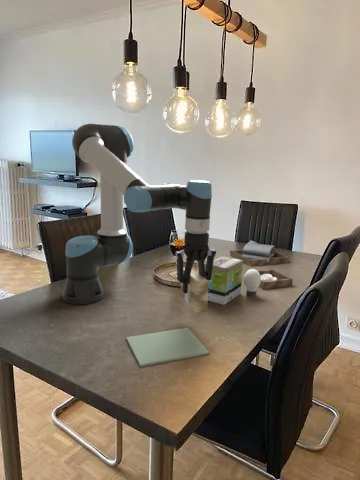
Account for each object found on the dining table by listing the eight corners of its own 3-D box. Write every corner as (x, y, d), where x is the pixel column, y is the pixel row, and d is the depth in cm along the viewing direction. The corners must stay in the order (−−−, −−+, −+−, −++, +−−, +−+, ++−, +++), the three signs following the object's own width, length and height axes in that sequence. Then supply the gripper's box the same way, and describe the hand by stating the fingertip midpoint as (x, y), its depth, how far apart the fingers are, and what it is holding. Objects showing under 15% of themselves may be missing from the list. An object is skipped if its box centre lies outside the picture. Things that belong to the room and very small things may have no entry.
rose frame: (262, 289, 158) (263, 282, 157) (244, 278, 172) (244, 272, 171) (292, 285, 164) (292, 279, 163) (272, 275, 177) (272, 269, 176)
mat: (140, 366, 98) (140, 364, 98) (126, 338, 113) (126, 337, 113) (209, 353, 106) (209, 352, 105) (187, 329, 120) (187, 327, 120)
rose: (283, 275, 164) (269, 279, 158) (282, 285, 165) (268, 289, 159) (265, 269, 171) (251, 273, 166) (264, 278, 172) (250, 282, 167)
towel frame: (249, 266, 191) (250, 260, 190) (229, 255, 210) (230, 250, 209) (288, 262, 199) (289, 257, 199) (266, 252, 218) (266, 247, 218)
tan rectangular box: (196, 312, 115) (198, 282, 112) (180, 295, 127) (181, 267, 125) (207, 311, 116) (209, 281, 114) (189, 294, 129) (191, 267, 126)
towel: (241, 260, 199) (242, 246, 197) (248, 252, 215) (249, 239, 214) (270, 264, 193) (271, 249, 192) (275, 255, 210) (276, 242, 208)
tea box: (225, 305, 140) (227, 268, 136) (202, 300, 145) (203, 263, 142) (241, 294, 152) (243, 259, 149) (219, 288, 157) (221, 255, 154)
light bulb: (245, 298, 147) (247, 271, 145) (240, 292, 154) (242, 266, 151) (262, 298, 148) (264, 271, 146) (256, 291, 155) (258, 266, 152)
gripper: (176, 235, 110) (173, 308, 115) (226, 232, 115) (221, 303, 121) (167, 229, 116) (165, 299, 122) (215, 227, 122) (211, 294, 128)
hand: (193, 301), depth 122 cm, fingers closed on tan rectangular box, 4 cm apart
